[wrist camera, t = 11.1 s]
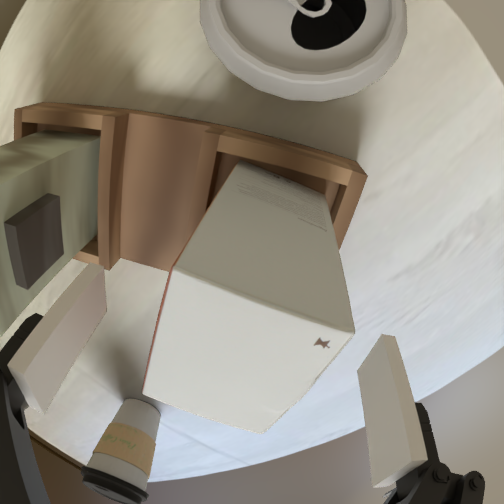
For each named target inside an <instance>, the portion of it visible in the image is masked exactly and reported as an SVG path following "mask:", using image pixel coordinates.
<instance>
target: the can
mask: <svg viewBox="0 0 504 504" xmlns="http://www.w3.org/2000/svg"><path fill="white" fill-rule="evenodd" d="M200 23H201V26H202V28H203V31H204V33H205V36H206V39H207V41H208V44H209V47H210V49H211V50H212V51H213V52H214V53H215V55H216V56H217V57H218V58H219V59H220V61H221V62H222V63H223V64H224V65H225V67H226V68H227V69H228V70H229V72H231V73H232V74H234V75H236V76H237V77H239V78H240V79H242V80H243V81H245V82H246V83H248V84H249V85H251V86H252V87H254V88H255V89H257V90H260V91H263V92H266V93H269V94H272V95H276V96H279V97H282V98H284V99H287V100H302V101H319V102H323V101H327V100H331V99H336V98H341V97H345V96H350V95H354V94H356V93H357V92H359V91H361V90H362V89H364V88H366V87H368V86H369V85H371V84H373V83H375V82H377V81H378V80H380V79H381V78H382V76H383V75H384V74H385V73H386V72H387V71H388V69H389V68H390V67H391V66H392V65H393V64H394V63H395V61H396V60H397V59H398V57H399V54H400V52H401V49H402V46H403V43H404V40H405V38H406V35H407V10H406V3H405V1H404V0H200Z"/></svg>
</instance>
